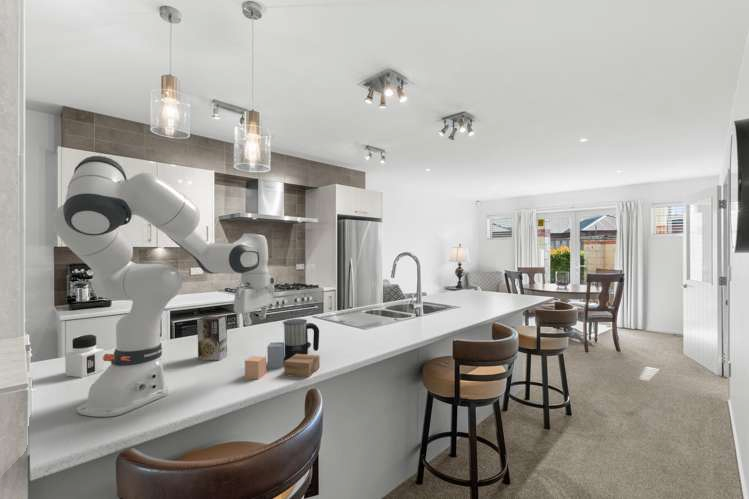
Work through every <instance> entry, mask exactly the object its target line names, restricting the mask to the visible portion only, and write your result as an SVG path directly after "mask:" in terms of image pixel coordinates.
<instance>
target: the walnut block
mask: <svg viewBox="0 0 749 499" xmlns="http://www.w3.org/2000/svg"><path fill="white" fill-rule="evenodd" d="M320 364H321V363H320V355H318V354H317V355H316V354H315V355H314V354H295V355H294V356H292V357H291V358H289V359H287V360H286V361H285V360H284V376H288V375H292V376H291V377H298V376H304V377H303V378H308V377H309V378H310V377H312V374H313V373H314V372H315V373H316V372H317V371H319V370H318V369H319V368H320V366H321V365H320ZM315 373H314V374H315ZM314 374H313V375H314Z"/></svg>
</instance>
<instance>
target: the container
mask: <svg viewBox="0 0 749 499" xmlns="http://www.w3.org/2000/svg"><path fill="white" fill-rule="evenodd" d="M104 355H105V354H104V349H103V348H97V336H96V335H94V334H82V335H78V336H76V337H74V338H73V339H72V351H69V352H66V353H65V354H64V356H65V357H64V358H65V361H64V363H65V365H64V366H65V370H64V371H65V376H67V377H75V378H85V377H88V376H91V375H93V374H97V373H100V372H103V371H105V368H104V366H105V365H104V364H105V361H104V360H103V358H104V357H103V356H104Z"/></svg>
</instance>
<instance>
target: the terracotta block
mask: <svg viewBox="0 0 749 499" xmlns="http://www.w3.org/2000/svg"><path fill="white" fill-rule="evenodd" d="M266 374H267V356H261V355H260V356H259V355H257V356H256V355H255V356H254V355H252V356H250V357H248V358H247V359H245V360H244V379H251V380H259V379H261V378H262V377H264V376H266Z"/></svg>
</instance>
